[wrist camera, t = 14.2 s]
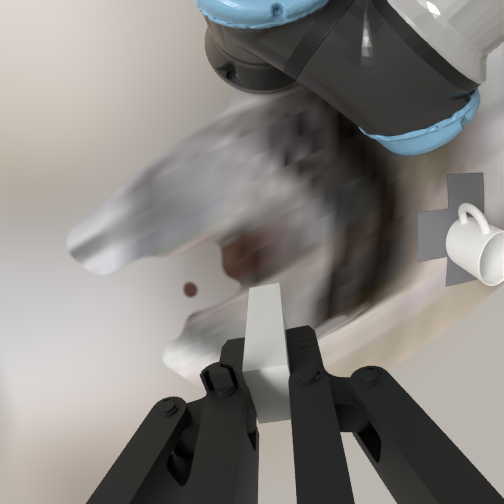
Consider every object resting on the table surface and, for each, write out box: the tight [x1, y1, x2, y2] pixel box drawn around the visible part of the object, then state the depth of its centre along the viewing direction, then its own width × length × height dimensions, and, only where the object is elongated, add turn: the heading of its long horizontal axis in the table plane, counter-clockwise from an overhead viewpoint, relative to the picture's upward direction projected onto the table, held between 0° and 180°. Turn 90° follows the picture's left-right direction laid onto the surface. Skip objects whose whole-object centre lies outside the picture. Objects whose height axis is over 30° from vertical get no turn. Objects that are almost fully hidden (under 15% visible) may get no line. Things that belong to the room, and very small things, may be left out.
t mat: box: [417, 173, 484, 286], centre depth 46 cm, size 19×14×1 cm
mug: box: [446, 203, 504, 286], centre depth 40 cm, size 12×8×10 cm
